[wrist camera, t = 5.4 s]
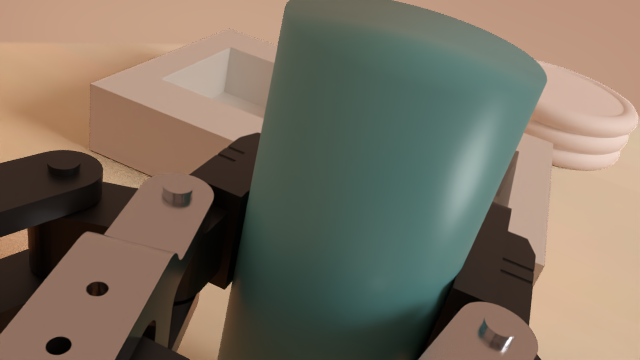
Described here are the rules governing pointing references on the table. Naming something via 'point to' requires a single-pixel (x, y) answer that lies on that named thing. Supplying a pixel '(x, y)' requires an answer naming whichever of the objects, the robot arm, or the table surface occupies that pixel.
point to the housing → (250, 121)
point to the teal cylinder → (371, 178)
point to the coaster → (581, 120)
